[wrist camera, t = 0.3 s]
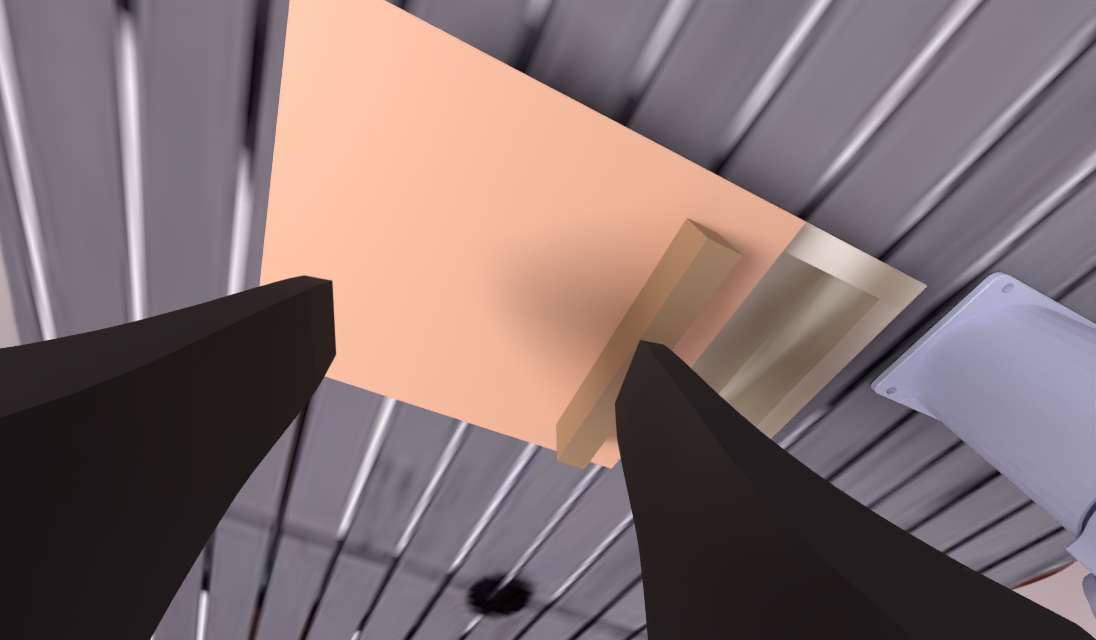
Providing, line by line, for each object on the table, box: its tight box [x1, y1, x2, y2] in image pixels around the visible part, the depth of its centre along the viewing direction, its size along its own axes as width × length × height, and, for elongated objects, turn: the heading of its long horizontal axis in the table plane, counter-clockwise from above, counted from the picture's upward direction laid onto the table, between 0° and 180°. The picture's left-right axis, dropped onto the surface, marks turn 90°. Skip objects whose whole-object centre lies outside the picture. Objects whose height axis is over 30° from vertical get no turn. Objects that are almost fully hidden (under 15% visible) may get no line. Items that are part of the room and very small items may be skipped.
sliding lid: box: [260, 0, 806, 469], centre depth 14 cm, size 16×13×3 cm
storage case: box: [554, 89, 927, 439], centre depth 19 cm, size 16×13×4 cm
